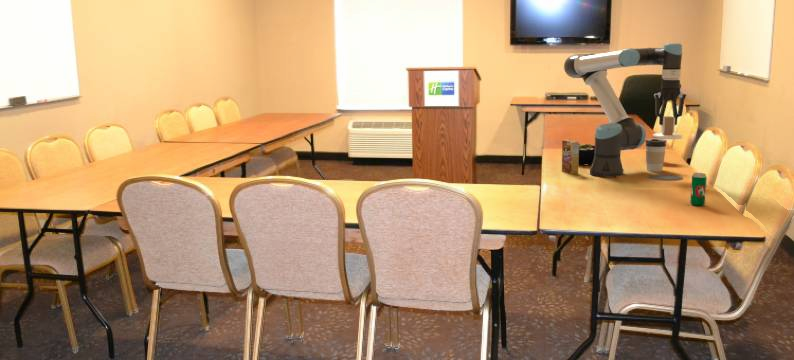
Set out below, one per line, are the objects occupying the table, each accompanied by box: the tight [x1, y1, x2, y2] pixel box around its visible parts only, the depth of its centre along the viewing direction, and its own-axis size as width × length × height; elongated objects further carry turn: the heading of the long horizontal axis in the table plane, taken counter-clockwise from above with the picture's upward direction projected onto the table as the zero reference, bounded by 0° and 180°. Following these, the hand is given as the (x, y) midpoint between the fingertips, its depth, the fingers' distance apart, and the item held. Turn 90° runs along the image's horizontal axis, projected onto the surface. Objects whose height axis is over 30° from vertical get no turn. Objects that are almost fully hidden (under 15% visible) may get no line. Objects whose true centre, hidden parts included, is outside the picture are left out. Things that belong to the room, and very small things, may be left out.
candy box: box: [561, 139, 580, 175], centre depth 323 cm, size 9×4×15 cm, turn 17°
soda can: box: [689, 172, 708, 207], centre depth 255 cm, size 5×5×12 cm
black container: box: [578, 143, 595, 166], centre depth 346 cm, size 17×17×10 cm
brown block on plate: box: [652, 115, 683, 140], centre depth 301 cm, size 12×12×9 cm
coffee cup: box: [645, 138, 667, 173], centre depth 321 cm, size 9×9×15 cm
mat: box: [646, 173, 684, 182], centre depth 305 cm, size 15×15×1 cm
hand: (667, 132), depth 301 cm, fingers closed on brown block on plate, 4 cm apart
